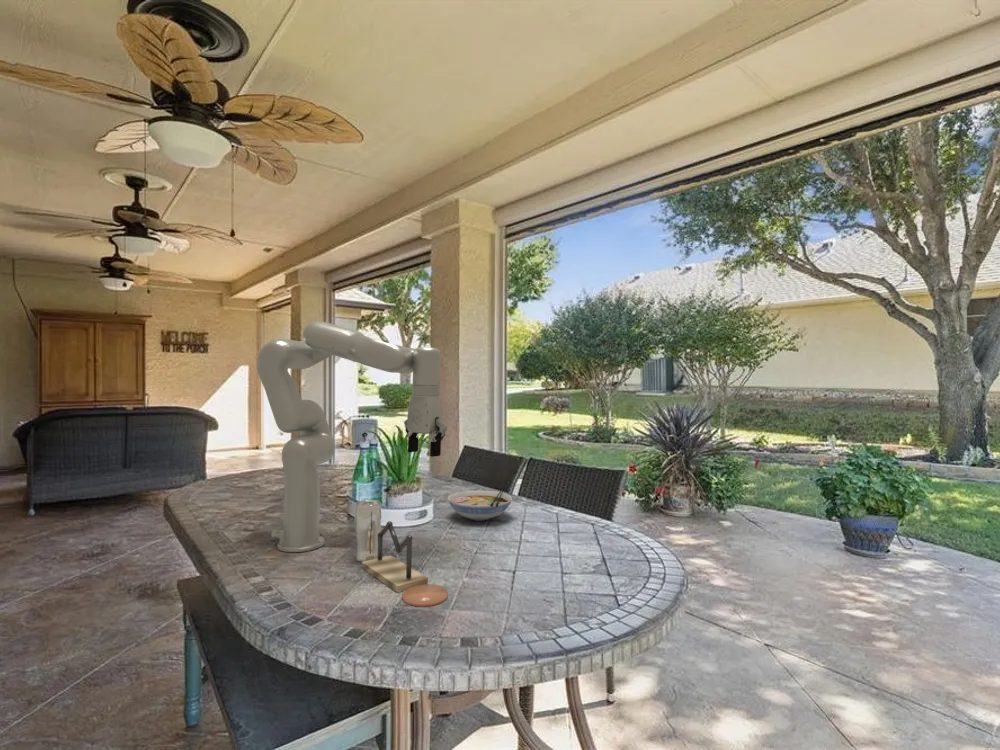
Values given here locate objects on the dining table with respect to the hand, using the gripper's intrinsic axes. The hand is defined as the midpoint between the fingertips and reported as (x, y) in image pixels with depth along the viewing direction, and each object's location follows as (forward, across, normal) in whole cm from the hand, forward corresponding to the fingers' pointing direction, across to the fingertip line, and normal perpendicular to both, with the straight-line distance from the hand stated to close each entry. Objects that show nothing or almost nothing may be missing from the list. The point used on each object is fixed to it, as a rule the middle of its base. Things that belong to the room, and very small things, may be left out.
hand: (423, 453), depth 138 cm
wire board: (+28, +7, -14) cm, 32 cm away
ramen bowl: (+28, -14, +38) cm, 49 cm away
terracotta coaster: (+28, +22, -16) cm, 39 cm away
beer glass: (+28, -8, -12) cm, 32 cm away
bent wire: (+26, +7, -14) cm, 31 cm away
